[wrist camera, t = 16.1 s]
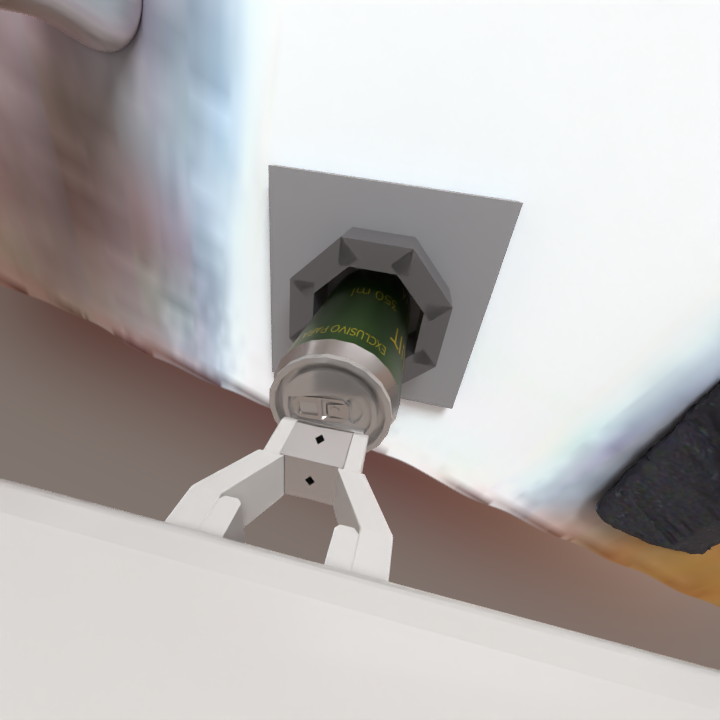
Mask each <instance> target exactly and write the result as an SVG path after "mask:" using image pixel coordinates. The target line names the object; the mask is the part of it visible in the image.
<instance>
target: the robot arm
mask: <svg viewBox="0 0 720 720" xmlns="http://www.w3.org/2000/svg"><path fill="white" fill-rule="evenodd" d="M368 438H369V436H368V435H364V434H359V433H355V432H350V431H345V430H340V429H336V428H331V427H325V426H321V425H318V424H314V423H310V422H306V421H302V420H296V419H292V418H288V417H284V418H283V419H281V421H280V423H279V424H278V426H277V428H276V430H275V431H274V433H273V434H272V436H271V438H270V439H269V441H268V443H267V444H266V446H265V448H264V449H263V450H260V449H259V450H257V451H255V452H253V453H251V454H249V455H247V456H246V457H244V458H242V459H240V460H238V461H236V462H235V463H233V464H231V465H229V466H227V467H225V468H223V469H222V470H220V471H218V472H216V473H214V474H212V475H210V476H209V477H207V478H205V479H203V480H201V481H199V482H198V483H196V484H194V485H192V486H191V487H190V489H189V490H188V491H187V493H186V494H185V496H184V497H183V498H182V499H181V501H180V502H179V503H178V505H177V506H176V507H175V508H174V510H173V511H172V513H171V514H170V515H169V516H168V518H167V519H166V520H165V522H163V521H159V520H155V519H151V518H148V517H144V516H140V515H137V514H133V513H129V512H125V511H121V510H118V509H114V508H110V507H107V506H103V505H99V504H95V503H92V502H88V501H84V500H80V499H77V498H73V497H69V496H65V495H62V494H58V493H54V492H50V491H47V490H43V489H39V488H36V487H32V486H28V485H24V484H21V483H16V482H13V481H9V480H6V479H1V478H0V720H720V670H718V669H714V668H710V667H707V666H703V665H698V664H695V663H691V662H687V661H684V660H680V659H676V658H672V657H669V656H665V655H661V654H658V653H654V652H650V651H646V650H643V649H639V648H635V647H631V646H627V645H624V644H620V643H616V642H613V641H609V640H605V639H601V638H598V637H594V636H590V635H586V634H583V633H579V632H575V631H571V630H568V629H564V628H560V627H556V626H552V625H549V624H545V623H541V622H538V621H534V620H530V619H526V618H523V617H519V616H515V615H511V614H507V613H504V612H500V611H496V610H493V609H489V608H485V607H482V606H478V605H473V604H470V603H466V602H463V601H459V600H455V599H451V598H448V597H444V596H440V595H436V594H433V593H429V592H425V591H422V590H418V589H414V588H410V587H407V586H403V585H399V584H395V583H392V582H388V580H389V571H390V561H391V552H392V542H393V536H392V534H391V531H390V530H389V527H388V525H387V523H386V520H385V518H384V516H383V514H382V512H381V510H380V507H379V505H378V503H377V501H376V499H375V496H374V494H373V492H372V490H371V488H370V485H369V484H368V481H367V479H366V477H365V474H362V470H363V465H364V459H365V454H366V449H367V443H368ZM284 494H288V495H293V496H298V497H302V498H307V499H311V500H314V501H318V502H321V503H325V504H329V505H332V506H333V508H334V512H335V516H336V519H337V523H338V526H337V527H335V528H334V532H333V536H332V539H331V543H330V546H329V549H328V553H327V557H326V560H325V563H324V564H320V563H316V562H313V561H309V560H305V559H301V558H298V557H294V556H290V555H286V554H283V553H278V552H275V551H271V550H268V549H264V548H260V547H256V546H253V545H249V544H245V536H244V527H245V526H246V525H248V524H249V523H250V522H251V521H253V520H254V519H255V518H256V517H257V516H259V515H260V514H261V513H262V512H264V511H265V510H266V509H267V508H268V507H270V506H271V505H272V504H273V503H275V502H276V501H277V500H278V499H280V498H281V497H282V496H283V495H284Z"/></svg>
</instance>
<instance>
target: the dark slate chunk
mask: <svg viewBox="0 0 720 720" xmlns="http://www.w3.org/2000/svg"><path fill="white" fill-rule="evenodd" d="M595 510H596V512H597V513H598V515H599V516H600V517H601V519H602V520H603V521H604V522H606V523H608V524H610V525H611V526H612V527H613V528H616V529H619V530H621V531H623V532H625V533H627V534H629V535H632V536H634V537H637V538H639V539H641V540H643V541H645V542H647V543H649V544H652V545H656V546H661V547H664V548H669V549H673V550H677V551H683V552H687V553H690V554H704V553H705V552H706V551H707V550H708V549H709V550H710V549H711V547H712V546H715V545H717V544H719V543H720V383H719V384H718V385H717V386H716V387H715V388H714V389H713V390H712V391H711V392H710V393H708V394H707V395H705V396H704V397H703V398H701V400H700V401H699V403H698V404H697V405H693V406H692V407H691V409H690V410H689V411H688V412H687V413H686V415H685V417H684V418H683V420H682V421H681V422H680V423H679V424H678V425H677V427H676V428H675V430H674V431H673V432H671V433H669V434H668V435H666V436H665V437H664V438H663V439H662V440H661V441H659V442H658V443H657V444H656V445H655V446H653V447H651V448H650V449H649V450H648V452H647V454H646V455H645V456H644V457H643V458H641V459H640V460H639V461H638V462H637V464H636V465H634V466H633V467H631V468H630V469H629V470H627V471H626V473H625V474H624V475H623V477H622V479H621V480H620V481H618V484H617V485H616V486H614V487H613V488H612V489H611V490H609V491H608V492H607V493H606V494H605V495H604V497H603V498H602V499H601V500H600V501H599V502H598V504H597V506H596V509H595Z"/></svg>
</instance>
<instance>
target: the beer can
mask: <svg viewBox="0 0 720 720" xmlns="http://www.w3.org/2000/svg"><path fill="white" fill-rule="evenodd" d="M410 311H411V310H410V299H409V296H408V294H407V292H406V290H405V287H404V286H403V285H402V284H401V283H400V282H399V281H398V280H397V278H396V277H394V276H392V275H390V274H389V273H384V272H378V271H373V270H367V269H362V270H357V271H355V272H353V273H351V274H349V275H347V276H346V277H345V278H344V279H343V280H342V281H341V282H340V283H339V284H338V285H337V287H336V288H335V289H334V290H333V292H332V293H331V294H330V296H329V297H328V298H327V300H326V301H325V302H324V304H323V305H322V306H321V307H320V309H319V310H318V311H317V313H316V314H315V315H314V317H313V318H312V319H311V321H310V322H309V323H308V324H307V326H306V327H305V328H304V330H303V331H302V332H301V334H300V335H299V336H298V338H297V339H296V340H295V342H294V343H293V344H292V345H291V347H290V348H289V349H288V351H287V352H286V353H285V355H284V356H283V357H282V359H281V360H280V362H279V365H278V367H277V369H276V371H275V374H274V382H273V384H272V386H271V388H270V403H269V405H270V408H271V411H272V414H273V417H274V419H275V421H276V422H277V424H279V423H280V421H281V419H283V418H284V417H288V418H292V419H296V420H302V421H306V422H310V423H314V424H318V425H321V426H325V427H331V428H336V429H340V430H345V431H350V432H355V433H359V434H364V435H368V436H369V438H368V443H367V449H366V453H367V452H368V451H370V450H372V449H373V448H375V447H377V446H378V445H379V444H380V443H381V442H382V440H383V439H384V438H385V437H386V435H387V434H388V431H389V428H390V425H391V424H392V423H393V422H394V420H395V419H396V415H397V412H398V408H399V405H400V397H401V389H402V380H403V371H404V363H405V354H406V346H407V337H408V328H409V320H410Z"/></svg>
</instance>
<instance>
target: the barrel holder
mask: <svg viewBox="0 0 720 720" xmlns="http://www.w3.org/2000/svg"><path fill="white" fill-rule="evenodd" d="M522 204H523V203H521V202H519V201H513V200H506V199H500V198H493V197H486V196H480V195H473V194H466V193H459V192H453V191H446V190H439V189H432V188H426V187H419V186H412V185H406V184H399V183H392V182H385V181H379V180H372V179H365V178H359V177H352V176H345V175H338V174H332V173H325V172H318V171H312V170H305V169H298V168H291V167H285V166H278V165H269V214H270V269H271V324H272V372H275V371H276V369H277V367H278V365H279V362H280V360H281V359H282V357H283V356H284V355H285V353H286V352H287V351H288V349H289V348H290V347H291V345H292V344H293V343H294V342H295V340H296V339H297V338H298V336H299V335H300V334H301V332H302V331H303V330H304V328H305V327H306V326H307V324H308V323H309V322H310V321H311V319H312V318H313V317H314V315H315V314H316V313H317V311H318V310H319V309H320V307H321V306H322V305H323V304H324V302H325V301H326V300H327V298H328V297H329V296H330V294H331V293H332V292H333V290H334V289H335V288H336V287H337V285H338V284H339V283H340V282H341V281H342V280H343V279H344V278H345V277H346V276H347V275H349V274H351V273H353V272H355V271H357V270H362V269H367V270H373V271H378V272H384V273H389V274H390V275H392V276H394V277H396V278H397V280H398V281H399V282H400V283H401V284H402V285H403V286H404V287H405V290H406V292H407V294H408V296H409V299H410V310H411V311H410V320H409V328H408V337H407V346H406V354H405V363H404V371H403V380H402V389H401V397H400V398H402V399H407V400H412V401H417V402H422V403H427V404H432V405H436V406H441V407H446V408H451V409H452V407H453V404H454V402H455V399H456V396H457V393H458V390H459V387H460V384H461V381H462V378H463V375H464V373H465V370H466V367H467V364H468V361H469V358H470V355H471V352H472V349H473V346H474V344H475V341H476V338H477V335H478V332H479V329H480V326H481V323H482V320H483V317H484V314H485V312H486V309H487V306H488V303H489V300H490V297H491V294H492V291H493V288H494V285H495V283H496V280H497V277H498V274H499V271H500V268H501V265H502V262H503V259H504V256H505V254H506V251H507V248H508V245H509V242H510V239H511V236H512V233H513V230H514V227H515V224H516V222H517V219H518V216H519V213H520V210H521V207H522Z"/></svg>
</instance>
